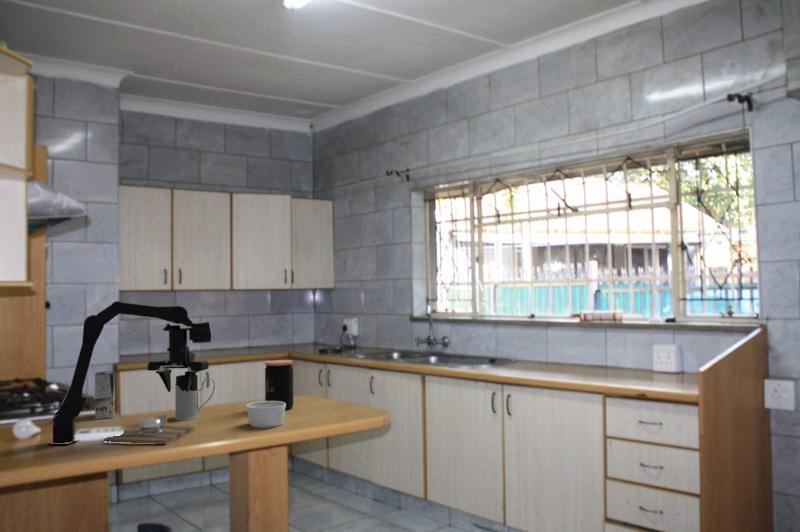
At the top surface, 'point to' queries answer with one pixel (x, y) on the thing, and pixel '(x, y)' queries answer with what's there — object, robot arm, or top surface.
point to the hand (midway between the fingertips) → (178, 391)
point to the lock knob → (153, 424)
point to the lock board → (151, 435)
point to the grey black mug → (187, 398)
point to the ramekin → (266, 413)
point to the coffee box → (104, 394)
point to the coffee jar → (279, 382)
